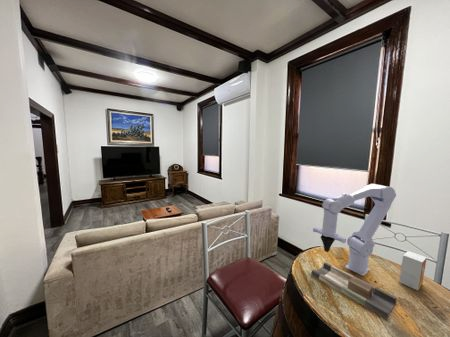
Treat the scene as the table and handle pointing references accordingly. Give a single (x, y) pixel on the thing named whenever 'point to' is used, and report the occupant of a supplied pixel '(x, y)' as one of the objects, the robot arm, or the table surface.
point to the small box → (412, 270)
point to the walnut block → (360, 287)
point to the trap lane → (336, 278)
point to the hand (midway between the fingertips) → (326, 250)
